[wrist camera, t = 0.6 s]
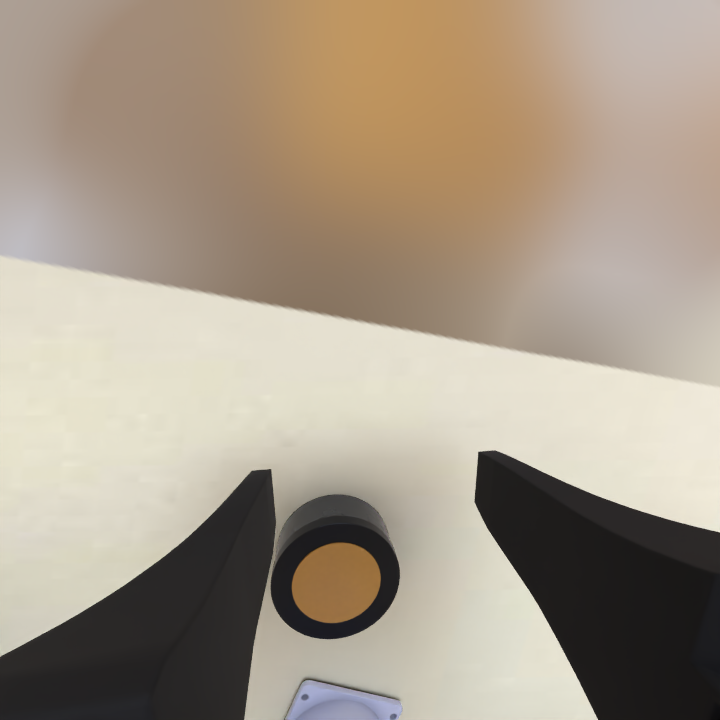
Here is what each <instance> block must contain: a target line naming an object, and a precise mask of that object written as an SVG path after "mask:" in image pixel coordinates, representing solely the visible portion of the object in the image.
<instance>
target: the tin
mask: <svg viewBox="0 0 720 720" xmlns="http://www.w3.org/2000/svg"><path fill="white" fill-rule="evenodd" d="M399 579H400V569H399V563H398V560H397V557H396V554H395V551H394V548H393V546H392V544H391V541H390V538H389V535H388V532H387V529H386V526H385V523H384V521H383V519H382V518H381V516H380V515H379V513H378V512H377V511H376V510H375V509H374V508H373V507H372V506H371V505H369V504H368V503H366V502H364V501H363V500H361V499H358V498H356V497H352V496H347V495H327V496H323V497H319V498H316V499H314V500H311V501H309V502H307V503H306V504H304V505H303V506H301V507H300V508H299V509H297V510H296V511H295V512H294V513H293V514H292V515H291V516H290V517H289V519H288V520H287V521H286V523H285V525H284V526H283V528H282V530H281V533H280V536H279V540H278V545H277V551H276V558H275V562H274V566H273V571H272V577H271V596H272V600H273V603H274V606H275V608H276V610H277V612H278V614H279V615H280V617H281V618H282V619H283V620H284V622H285V623H287V624H288V625H289V626H290V627H291V628H293V629H294V630H296V631H297V632H300V633H302V634H304V635H307V636H310V637H314V638H319V639H337V638H344V637H347V636H351V635H354V634H356V633H359V632H361V631H363V630H365V629H367V628H368V627H370V626H371V625H373V624H374V623H375V622H376V621H377V620H379V619H380V618H381V617H382V616H383V615H384V613H385V612H386V611H387V610H388V608H389V607H390V605H391V604H392V602H393V600H394V598H395V595H396V593H397V590H398V586H399Z"/></svg>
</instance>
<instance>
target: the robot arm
mask: <svg viewBox="0 0 720 720" xmlns="http://www.w3.org/2000/svg"><path fill="white" fill-rule="evenodd" d="M475 504H476V506H477V508H478V510H479V512H480V514H481V516H482V518H483V520H484V522H485V524H486V526H487V528H488V530H489V531H490V533H491V534H492V536H493V537H494V539H495V540H496V542H497V543H498V545H499V546H500V548H501V549H502V551H503V552H504V554H505V555H506V557H507V558H508V560H509V561H510V563H511V564H512V566H513V567H514V569H515V570H516V572H517V573H518V575H519V576H520V578H521V579H522V581H523V582H524V583H525V585H526V586H527V588H528V589H529V591H530V593H531V594H532V596H533V597H534V599H535V601H536V602H537V604H538V605H539V607H540V609H541V611H542V612H543V614H544V616H545V618H546V620H547V622H548V623H549V625H550V627H551V629H552V631H553V632H554V634H555V636H556V638H557V640H558V641H559V643H560V645H561V647H562V649H563V651H564V653H565V655H566V657H567V659H568V661H569V662H570V664H571V666H572V668H573V670H574V672H575V674H576V676H577V678H578V680H579V682H580V684H581V686H582V688H583V690H584V692H585V694H586V696H587V698H588V700H589V702H590V704H591V706H592V708H593V710H594V712H595V714H596V716H597V718H598V720H720V533H719V532H715V531H711V530H707V529H702V528H698V527H694V526H690V525H686V524H682V523H679V522H675V521H671V520H668V519H665V518H661V517H658V516H654V515H651V514H648V513H644V512H641V511H638V510H635V509H632V508H629V507H626V506H623V505H620V504H618V503H615V502H612V501H609V500H606V499H604V498H601V497H598V496H596V495H593V494H591V493H588V492H586V491H584V490H581V489H579V488H577V487H574V486H572V485H570V484H567V483H565V482H563V481H561V480H558V479H556V478H554V477H552V476H550V475H548V474H546V473H543V472H541V471H539V470H537V469H535V468H533V467H531V466H529V465H527V464H525V463H523V462H520V461H518V460H516V459H514V458H512V457H510V456H507V455H505V454H503V453H500V452H498V451H483V452H479V453H478V465H477V478H476V490H475ZM275 526H276V518H275V507H274V496H273V485H272V474H271V469H268V470H256V471H251V472H250V474H249V475H248V476H247V477H246V478H245V479H244V480H243V481H242V482H241V484H240V485H239V486H238V487H237V488H236V489H235V490H234V491H233V493H232V494H231V495H230V496H229V497H228V498H227V499H226V500H225V501H224V502H223V503H222V505H221V506H220V507H219V508H218V509H217V510H216V511H215V512H214V513H213V514H212V515H211V516H210V517H209V518H208V519H207V520H206V521H205V522H204V523H203V524H202V525H201V526H200V527H199V528H198V529H197V530H195V531H194V532H193V533H192V534H191V535H190V536H189V537H188V538H186V539H185V540H184V541H183V542H182V543H181V544H179V545H178V546H177V547H176V548H174V549H173V550H172V551H171V552H170V553H168V554H167V555H166V556H165V557H163V558H162V559H161V560H159V561H158V562H157V563H155V564H154V565H152V566H151V567H150V568H148V569H147V570H145V571H144V572H143V573H141V574H140V575H138V576H137V577H136V578H134V579H133V580H131V581H130V582H129V583H127V584H126V585H124V586H123V587H121V588H120V589H118V590H117V591H115V592H114V593H112V594H110V595H109V596H107V597H106V598H104V599H103V600H101V601H99V602H98V603H96V604H95V605H93V606H91V607H90V608H88V609H86V610H85V611H83V612H81V613H80V614H78V615H76V616H75V617H73V618H71V619H69V620H68V621H66V622H64V623H62V624H61V625H59V626H57V627H55V628H53V629H51V630H50V631H48V632H46V633H44V634H42V635H40V636H38V637H37V638H35V639H33V640H31V641H29V642H27V643H26V644H24V645H22V646H20V647H18V648H16V649H14V650H12V651H11V652H9V653H7V654H5V655H3V656H1V657H0V720H244V716H245V708H246V700H247V691H248V683H249V676H250V668H251V660H252V653H253V645H254V640H255V634H256V629H257V624H258V619H259V615H260V610H261V606H262V601H263V597H264V592H265V587H266V583H267V578H268V574H269V569H270V564H271V559H272V555H273V547H274V537H275ZM401 712H402V705H401V702H400V701H398V700H395V699H391V698H387V697H382V696H378V695H374V694H369V693H365V692H360V691H356V690H352V689H347V688H343V687H339V686H334V685H330V684H326V683H321V682H317V681H312V680H306V681H304V682H303V683H302V684H301V686H300V688H299V690H298V692H297V694H296V697H295V699H294V701H293V703H292V705H291V707H290V709H289V712H288V714H287V716H286V718H285V720H398V718H399V716H400V714H401Z"/></svg>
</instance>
